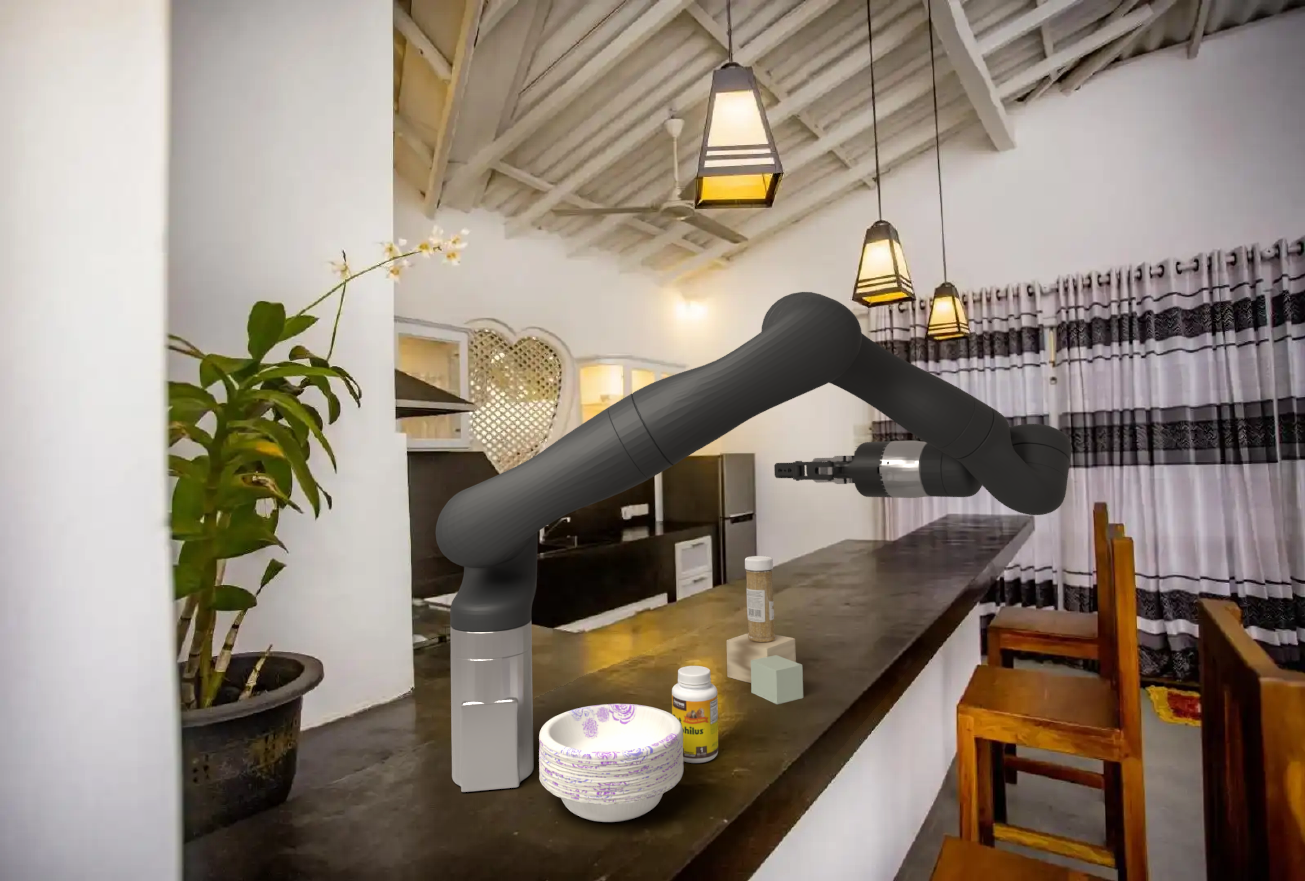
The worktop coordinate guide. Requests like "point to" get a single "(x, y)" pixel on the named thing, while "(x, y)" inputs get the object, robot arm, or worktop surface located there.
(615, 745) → the paper bowls
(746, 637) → the beech pedestal
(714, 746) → the supplement bottle
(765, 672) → the sage block
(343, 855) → the worktop surface
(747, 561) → the brown spice jar
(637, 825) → the worktop surface
